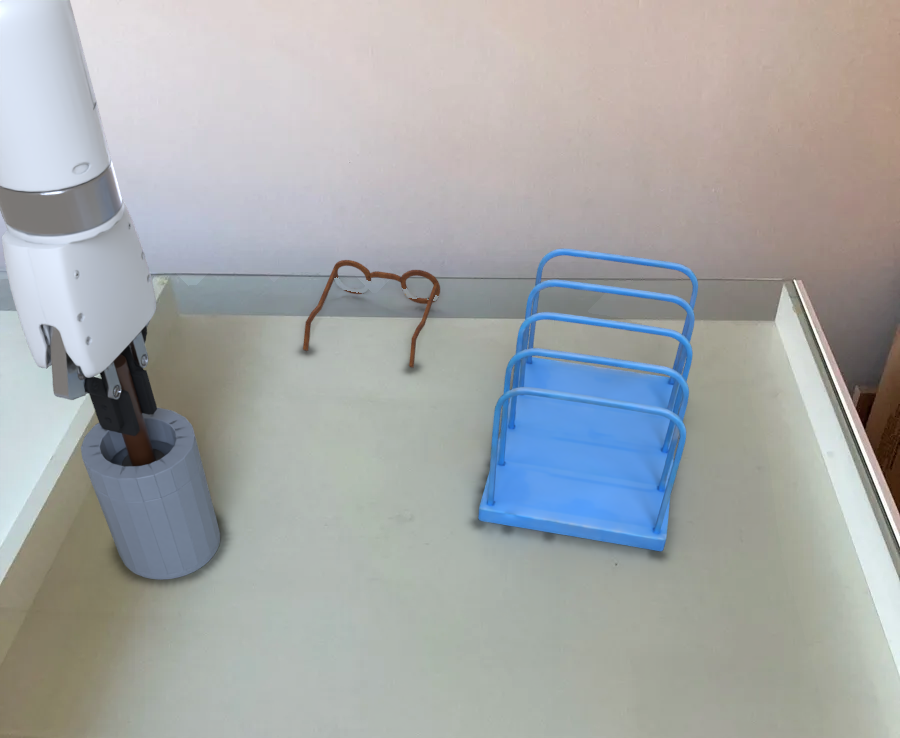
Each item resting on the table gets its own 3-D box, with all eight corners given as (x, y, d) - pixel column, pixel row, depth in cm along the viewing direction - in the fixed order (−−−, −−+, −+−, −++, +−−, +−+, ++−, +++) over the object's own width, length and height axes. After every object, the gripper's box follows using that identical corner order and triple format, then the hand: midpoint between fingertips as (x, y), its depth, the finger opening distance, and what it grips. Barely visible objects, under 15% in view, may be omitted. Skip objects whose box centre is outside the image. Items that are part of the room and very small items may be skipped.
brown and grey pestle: (124, 501, 78) (78, 370, 68) (145, 474, 80) (103, 343, 70) (162, 510, 77) (121, 379, 67) (181, 483, 80) (145, 352, 69)
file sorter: (662, 555, 83) (700, 422, 72) (477, 524, 86) (483, 391, 74) (677, 391, 99) (710, 260, 87) (520, 369, 101) (531, 238, 90)
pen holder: (101, 566, 81) (59, 465, 72) (150, 500, 87) (117, 398, 78) (192, 589, 80) (161, 488, 71) (236, 520, 85) (213, 418, 76)
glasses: (441, 307, 109) (441, 268, 105) (413, 370, 101) (412, 331, 97) (336, 291, 111) (333, 253, 107) (300, 352, 103) (295, 313, 99)
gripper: (74, 134, 64) (137, 355, 78) (-71, 244, 54) (31, 474, 68) (170, 150, 63) (217, 371, 77) (40, 265, 53) (121, 495, 67)
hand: (129, 418), depth 73 cm, fingers closed on brown and grey pestle, 2 cm apart
